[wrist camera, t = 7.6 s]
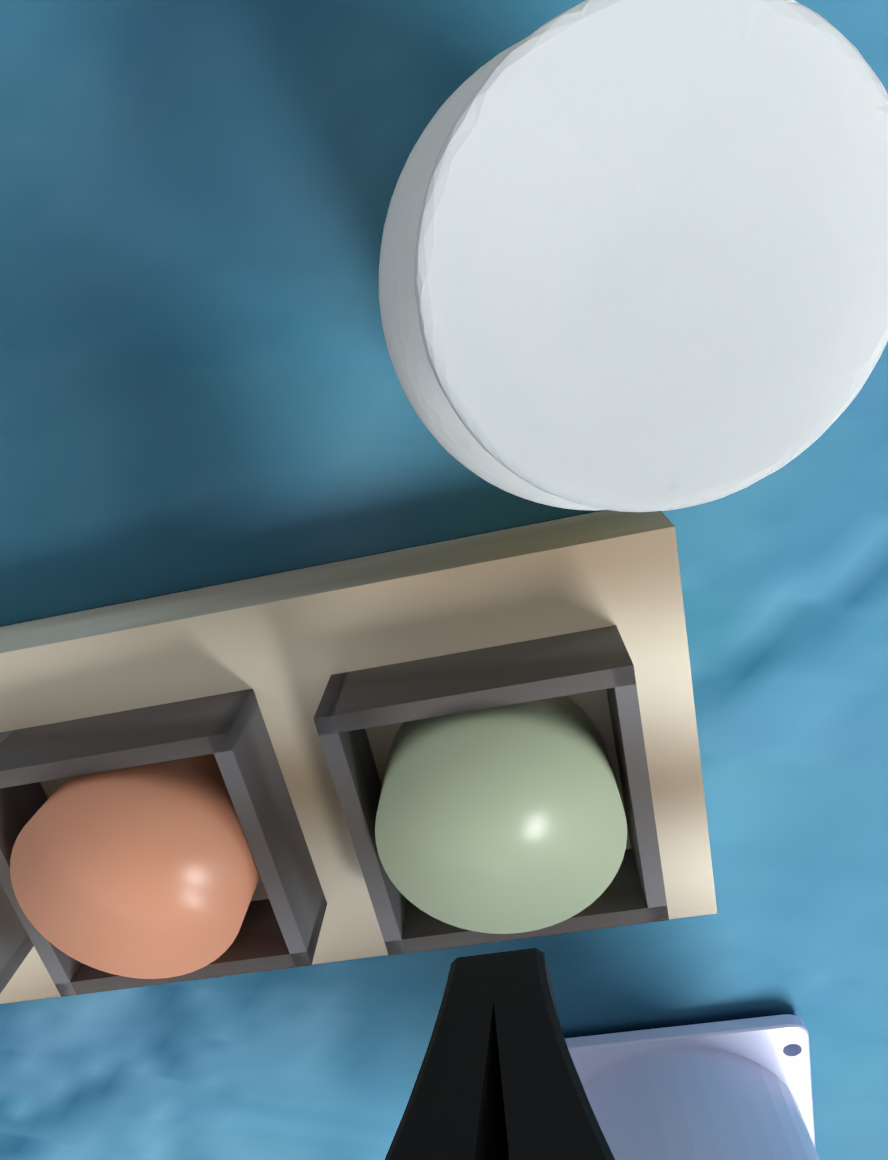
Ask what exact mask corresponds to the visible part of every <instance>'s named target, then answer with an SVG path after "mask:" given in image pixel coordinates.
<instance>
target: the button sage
mask: <svg viewBox="0 0 888 1160" xmlns="http://www.w3.org/2000/svg"><path fill="white" fill-rule="evenodd" d="M375 839H376V846H377V850H378V855H379V858H380V860H381V863H382V865H383V868H384V870H385V871H386V873H387V875H388V877H389V878H390V880H391V881H392V883H393V884H394V885H395V887H396V888H397V889H398V890H399V891H400V892H401V893H402V894H403V895H404V896H405V897H406V898H407V899H408V900H409V901H410V902H411V903H412V904H414V905H415V906H416V907H418V908H419V909H420V910H422V911H423V912H425V913H427V914H428V915H430V916H432V917H434V918H436V919H438V920H440V921H442V922H444V923H447V924H450V925H453V926H455V927H458V928H462V929H466V930H470V931H475V932H482V933H490V934H512V933H523V932H529V931H535V930H539V929H542V928H546V927H549V926H553V925H555V924H557V923H560V922H562V921H565V920H567V919H569V918H571V917H572V916H574V915H576V914H578V913H579V912H581V911H582V910H584V909H585V908H586V907H588V906H589V905H591V904H592V903H593V902H594V901H595V900H596V899H597V898H598V897H599V896H601V895H602V893H603V892H604V891H605V890H606V889H607V887H608V886H609V885H610V884H611V882H612V880H613V879H614V877H615V876H616V874H617V872H618V870H619V868H620V865H621V863H622V861H623V857H624V853H625V849H626V843H627V822H626V816H625V812H624V808H623V804H622V801H621V797H620V794H619V791H618V787H617V784H616V780H615V777H614V773H613V770H612V767H611V763H610V760H609V756H608V753H607V749H606V746H605V744H604V742H603V739H602V737H601V735H600V733H599V731H598V730H597V728H596V727H595V725H594V724H593V722H592V721H591V720H590V719H589V717H588V716H587V715H586V714H585V713H584V712H583V711H582V710H581V709H580V708H579V707H578V706H576V705H575V704H574V703H573V702H571V701H570V700H568V699H567V698H565V697H564V696H560V697H554V698H548V699H542V700H536V701H529V702H523V703H517V704H511V705H505V706H499V707H493V708H487V709H481V710H475V711H469V712H463V713H456V714H450V715H444V716H438V717H432V718H426V719H420V720H414V721H408V722H403V724H402V725H401V727H400V728H399V730H398V732H397V733H396V735H395V738H394V740H393V742H392V745H391V748H390V752H389V756H388V760H387V765H386V770H385V775H384V780H383V785H382V790H381V795H380V800H379V805H378V810H377V815H376V823H375Z"/></svg>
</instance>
